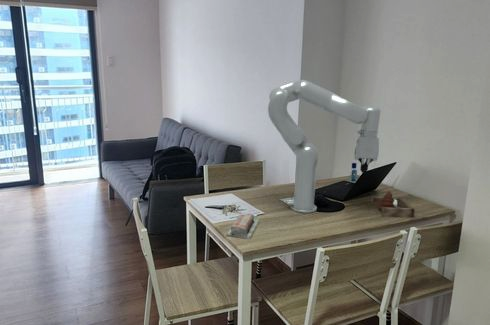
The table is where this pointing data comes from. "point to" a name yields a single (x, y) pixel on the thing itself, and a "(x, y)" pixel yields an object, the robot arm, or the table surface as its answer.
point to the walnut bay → (403, 211)
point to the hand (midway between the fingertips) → (363, 172)
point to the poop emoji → (388, 202)
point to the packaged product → (243, 226)
